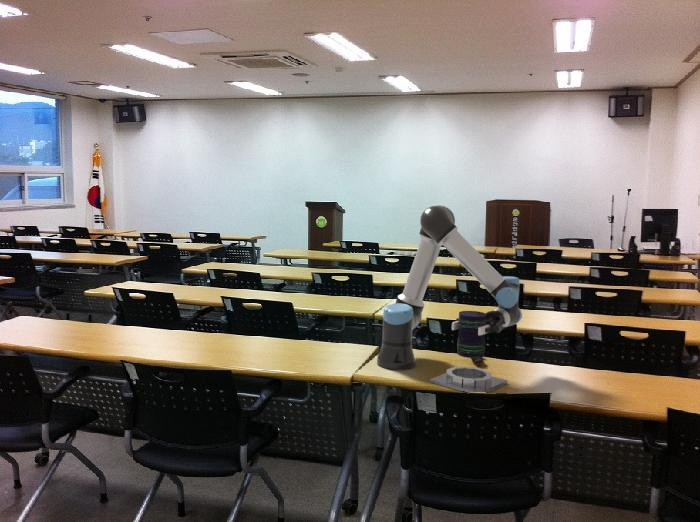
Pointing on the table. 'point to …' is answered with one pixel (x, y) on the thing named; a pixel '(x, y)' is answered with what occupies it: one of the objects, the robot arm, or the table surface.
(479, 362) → the brown tall piece
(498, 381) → the hub plate
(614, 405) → the table surface
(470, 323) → the storage jar
